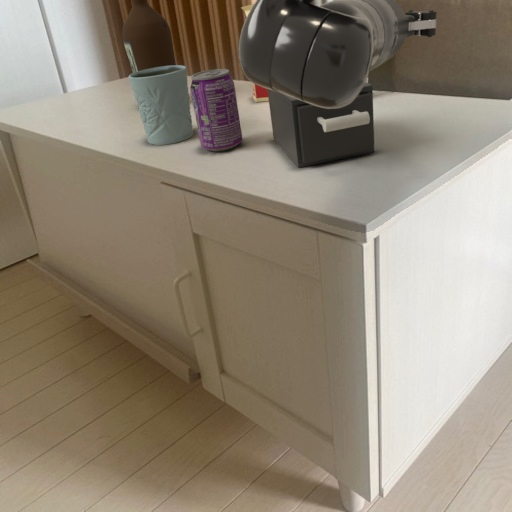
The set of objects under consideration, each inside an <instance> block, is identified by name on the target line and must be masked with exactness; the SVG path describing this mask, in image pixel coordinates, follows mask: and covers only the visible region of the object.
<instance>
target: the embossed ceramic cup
mask: <svg viewBox="0 0 512 512" xmlns="http://www.w3.org/2000/svg"><path fill="white" fill-rule="evenodd" d="M128 81H129V83H130V86H131V90H132V92H133V96H134V99H135V101H136V103H137V107H138V112H139V115H140V118H141V121H142V125H143V128H144V132H145V134H146V135H145V136H146V140H147V142H148V143H149V144H150V145H155V146H164V145H165V146H166V145H172V144H176V143H179V142H183V141H186V140H188V139H190V138H191V137H192V136H193V135H194V127H193V121H192V115H191V102H190V98H189V96H190V93H189V87H188V86H189V84H188V71H187V67H186V65H180V64H176V65H172V66H162V67H155V68H150V69H145V70H141V71H138V72H135V73H132V72H131V74H129V75H128Z"/></svg>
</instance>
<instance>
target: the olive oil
mask: <svg viewBox="0 0 512 512" xmlns="http://www.w3.org/2000/svg"><path fill="white" fill-rule="evenodd" d="M130 1H131V6H132V7H131V9H130V11H129V13H128V15H127V17H126V19H125V21H124V23H123V26H122V32H121V33H122V35H121V36H122V41H123V42H122V43H123V45H124V49H125V52H126V56H127V58H128V62H129V65H130V69H131V74H132V73H135V72H138V71H141V70H145V69H150V68H155V67H162V66H172V65H177V62H176V56H175V51H174V43H173V37H172V30H171V27H170V25H169V23H168V21H167V20H166V18H165V17H164V16H163V15H162V14H160V13H159V11H156V9H154V8H153V7H152V6H150V5H151V4H149V2H148V0H130Z"/></svg>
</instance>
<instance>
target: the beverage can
mask: <svg viewBox="0 0 512 512" xmlns="http://www.w3.org/2000/svg"><path fill="white" fill-rule="evenodd" d="M190 79H191V84H190V87H189V88H190V96H191V101H192V107H193V111H194V117H195V121H196V128H197V133H198V138H199V143H200V147H201V148H203V149H205V150H208V151H210V152H224V151H227V150H228V151H229V150H231V149H234V148H235V147H237V146H238V145H239V144H240V143H242V141H243V132H242V126H241V119H240V113H239V107H238V100H237V99H238V98H237V94H236V93H237V92H236V87H235V86H236V85H235V81H234V80H233V78H232V76H231V75H230V69H227V68H216V69H209V70H203V71H199V72H196V73H194V74H192V75H190Z"/></svg>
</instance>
